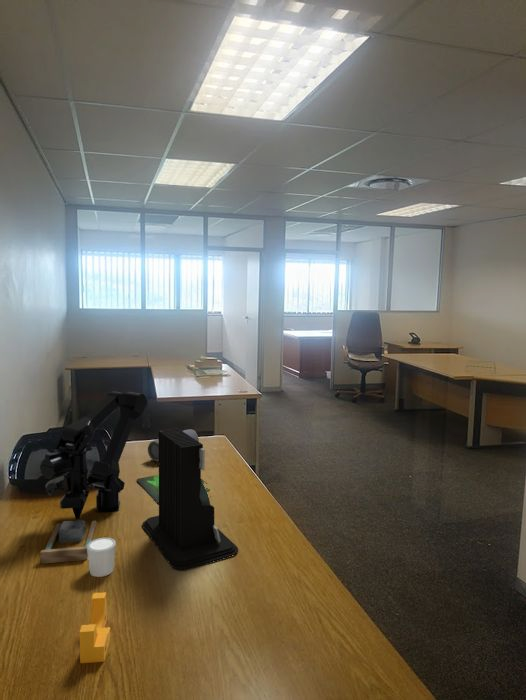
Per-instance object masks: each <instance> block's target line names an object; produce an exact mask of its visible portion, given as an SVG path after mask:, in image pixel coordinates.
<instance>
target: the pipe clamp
mask: <svg viewBox="0 0 526 700" xmlns="http://www.w3.org/2000/svg"><path fill="white" fill-rule="evenodd" d="M107 606H108V605H107V592H106V591H105V592H94V593H93V594H92V596H91V608H90V615H89V622H88V624H82V625H81V626H80V630H79V660H80V661H79V663H80V664H89V663H101V662H103V663H104V662H105V660H106V657H107V652H108V649H109V644H110V642H111V641H110V640H111V627H109V626H108V627H106V624H107V621H108V620H107V619H108V617H107V616H108V613H107V611H108V610H107Z"/></svg>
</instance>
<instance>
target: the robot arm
mask: <svg viewBox="0 0 526 700" xmlns="http://www.w3.org/2000/svg"><path fill="white" fill-rule="evenodd" d="M147 405H148V400H147V396H146V395H145V394H144V393H138V392H132V391H126V392H125V393H123V392H122V391H121V392H119V391H110V392H108V394H107V396H106V397H105V398H104V399H103V400H101V401H100V403H98V404H97V405H96V406H95V407H94V408H93V409H92V410H90V412H89V413H88V414H86V415H85V416H84V417H83V418H81V419H78V420H75V421H73V422H72V423H70V424H69V425H67V426H65V428H64V429H63V430H62V432H61V433H62V434H61V436H60V438H59V439H58V441H57V443H56V444H55V447H54V449H53V450H54V452H51V453H46V454H45V455H44V458H43V459H42V461H41V463H40V465H39V469H40V473H41V475H42V476H43V477H44V479H47V480H49V481H47V483H46V484H45V486H44V487H45V493H46V494H48V496H54V495H55V494H58V493H60V492H62V491H63V492H64V493H65V494H64V495H63V496H61V499H60V501H59V507H60V509H61V510H64V509H71V510H72V512H73V515H74V518H75V520H79V519H80V518H81V515H82V512H83V509H84V508H85V504H86V502H87V499H88V496H89V494H90V491H89V490H87V489H88V487H93V489H94V490H98V491H97V493H96V496H95V498H96V506H95V508H96V509H97V513H103V512H104V513H106V512H107V513H109V512H118V511H119V510H120V505H121V501H120V493H121V492H122V491H123V490H124V489H125V481H123V479H121V478H120V477H119V476H120V472H121V470H120V469H121V468H120V464H119V463H120V460H121V457H122V455H123V452H124V449H125V446H126V444H127V441H128V439H129V436H130V433H131V431H132V429H133V426H134V423H135V421H136V420H137V419H138V418H139V417H141V416H142V414H143V413H144V412H145V409H146V407H147ZM118 408H119V415H120V416H119V419H118V421H117V423H116V426H115V427H114V430H113V434H112V436H111V438H110V441H109V443H108V446H107V448H106V450H105V452H104V455H103V457H102V458H101V459H100V460H99V461H98V460H95V461H94V462H93V465H92V468H91V469H90V471H89V468H88V464H87V463H88V459H87V455H88V454H87V453H88V452H90V451H93V447H92V446H90V445H89V443H90V442H91V440H92V439H93V438H94V437H95V433H96V430H97V428H99V426H100V425H101V424H103V423H104V422H105V421H106V420H107V419H108V417H110V416H111V415H112V414H113V413H114V412H115V411H117V409H118ZM88 473H89V474H90V475H89V474H88Z"/></svg>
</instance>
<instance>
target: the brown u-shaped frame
mask: <svg viewBox="0 0 526 700" xmlns="http://www.w3.org/2000/svg"><path fill="white" fill-rule="evenodd" d="M97 524H98V523H97V520H92V522H91V525H90V527H89V531H88V535H87V538H86V541H85V544H84V546H76V547H75V546H74V547H64V548H52V547H54V545H55V543H56V540H57V538H58V537H59V529H60V527H61V525H62V523H56V524H55V526H54V528H53V531H52V533H51V534H50V535H51V536H50V538H49V540H48V542H47V545H46V547H45V549H41V550H40V553H39V554H40V556H39V557H40V564H41V565H42V564H43V565H44V564H53V563H61V562H62V563H64V562H77V561H85V560H88V552H87V544H88V543H89V542H91V541H93V540H94V537H95V533H96V529H97Z"/></svg>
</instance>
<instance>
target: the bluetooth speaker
mask: <svg viewBox="0 0 526 700" xmlns="http://www.w3.org/2000/svg"><path fill="white" fill-rule="evenodd" d="M182 431H183V432H185V434H187V435H189V436H190V437H192V438H194V439H195V440H197V442H198V441H199V442H200V439H199V436H198V433H197V432H196V430H194V429H184V430H182ZM147 454H148V456H149V458H150V459H151V460H152V461H156V462H159V438H157V439H154V440H152V441H151V442H149V444H148V446H147Z"/></svg>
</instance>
